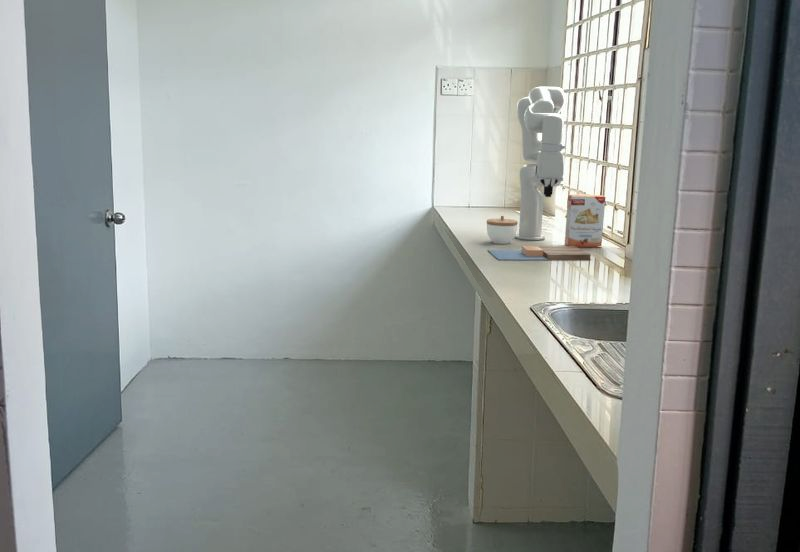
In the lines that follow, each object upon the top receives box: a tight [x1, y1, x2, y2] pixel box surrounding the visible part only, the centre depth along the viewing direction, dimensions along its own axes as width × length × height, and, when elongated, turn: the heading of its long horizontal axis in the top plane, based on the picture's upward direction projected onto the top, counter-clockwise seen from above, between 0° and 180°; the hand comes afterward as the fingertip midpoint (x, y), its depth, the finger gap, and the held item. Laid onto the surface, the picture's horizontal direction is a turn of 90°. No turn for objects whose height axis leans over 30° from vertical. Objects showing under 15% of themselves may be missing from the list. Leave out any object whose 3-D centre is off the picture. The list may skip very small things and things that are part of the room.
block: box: [521, 245, 543, 257], centre depth 303 cm, size 9×6×2 cm, turn 5°
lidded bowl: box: [486, 215, 518, 245], centre depth 331 cm, size 13×13×11 cm
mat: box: [487, 249, 549, 261], centre depth 303 cm, size 20×18×1 cm
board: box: [537, 245, 591, 261], centre depth 304 cm, size 18×16×2 cm
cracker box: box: [564, 194, 606, 248], centre depth 324 cm, size 14×6×21 cm, turn 92°
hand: (547, 196), depth 306 cm, fingers closed
